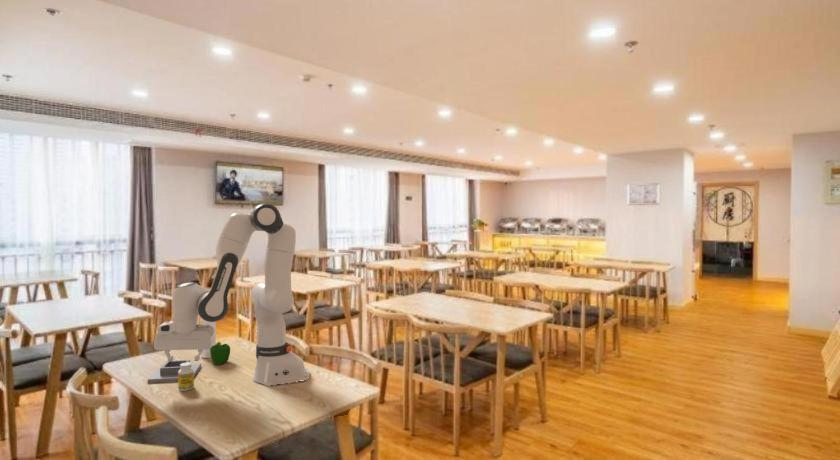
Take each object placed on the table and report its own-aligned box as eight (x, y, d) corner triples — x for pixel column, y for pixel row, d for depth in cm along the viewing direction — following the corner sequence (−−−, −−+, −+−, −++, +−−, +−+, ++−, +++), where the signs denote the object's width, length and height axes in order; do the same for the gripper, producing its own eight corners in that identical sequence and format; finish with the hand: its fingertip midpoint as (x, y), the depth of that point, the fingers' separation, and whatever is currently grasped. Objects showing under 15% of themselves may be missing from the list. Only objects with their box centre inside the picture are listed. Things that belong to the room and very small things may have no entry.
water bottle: (213, 353, 222) (213, 301, 221) (217, 356, 217) (217, 303, 215) (193, 356, 216) (193, 303, 215) (197, 360, 211) (197, 305, 210)
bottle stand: (200, 366, 203) (200, 356, 203) (191, 380, 188) (191, 369, 187) (160, 368, 200) (160, 358, 199) (147, 383, 184) (147, 371, 184)
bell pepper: (219, 358, 214) (219, 337, 213) (234, 361, 211) (234, 339, 211) (205, 364, 206) (205, 342, 206) (220, 367, 203) (220, 344, 203)
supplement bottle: (192, 384, 184) (192, 360, 183) (194, 389, 179) (194, 364, 179) (177, 387, 181) (177, 363, 180) (179, 392, 176) (178, 367, 176)
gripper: (215, 322, 184) (214, 357, 184) (158, 323, 179) (157, 358, 180) (212, 326, 178) (210, 362, 178) (153, 327, 173) (152, 364, 174)
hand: (183, 360), depth 179 cm, fingers open, 8 cm apart
